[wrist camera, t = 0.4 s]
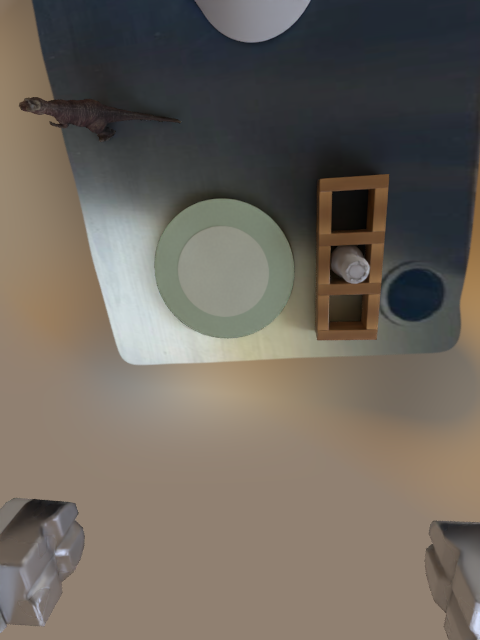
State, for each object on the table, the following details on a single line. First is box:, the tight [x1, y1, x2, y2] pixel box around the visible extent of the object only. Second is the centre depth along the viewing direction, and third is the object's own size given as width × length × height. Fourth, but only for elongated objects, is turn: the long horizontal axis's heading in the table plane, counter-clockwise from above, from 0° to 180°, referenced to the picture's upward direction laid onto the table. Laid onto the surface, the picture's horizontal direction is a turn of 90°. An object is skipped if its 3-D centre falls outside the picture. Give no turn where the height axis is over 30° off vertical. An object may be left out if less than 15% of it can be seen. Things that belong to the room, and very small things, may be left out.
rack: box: [315, 174, 389, 340], centre depth 47 cm, size 21×8×4 cm, turn 3°
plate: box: [154, 199, 294, 338], centre depth 50 cm, size 20×20×1 cm
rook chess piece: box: [330, 245, 370, 284], centre depth 45 cm, size 4×4×8 cm
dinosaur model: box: [19, 97, 181, 142], centre depth 40 cm, size 4×12×15 cm
